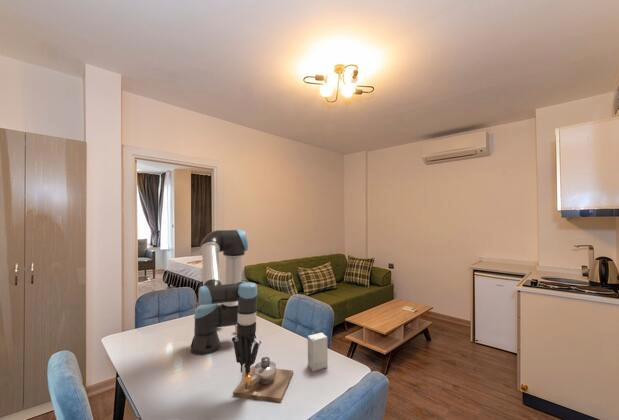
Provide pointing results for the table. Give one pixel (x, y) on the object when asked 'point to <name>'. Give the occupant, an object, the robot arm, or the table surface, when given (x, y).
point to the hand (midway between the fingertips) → (245, 380)
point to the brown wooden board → (266, 387)
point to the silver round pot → (261, 373)
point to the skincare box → (317, 351)
